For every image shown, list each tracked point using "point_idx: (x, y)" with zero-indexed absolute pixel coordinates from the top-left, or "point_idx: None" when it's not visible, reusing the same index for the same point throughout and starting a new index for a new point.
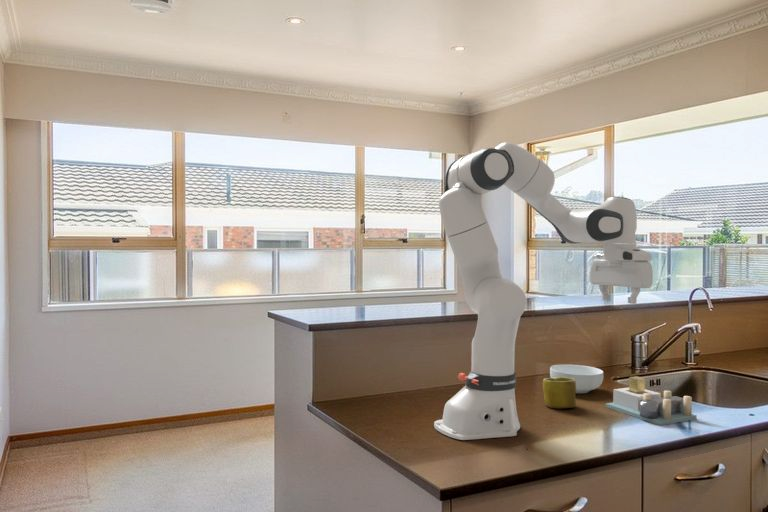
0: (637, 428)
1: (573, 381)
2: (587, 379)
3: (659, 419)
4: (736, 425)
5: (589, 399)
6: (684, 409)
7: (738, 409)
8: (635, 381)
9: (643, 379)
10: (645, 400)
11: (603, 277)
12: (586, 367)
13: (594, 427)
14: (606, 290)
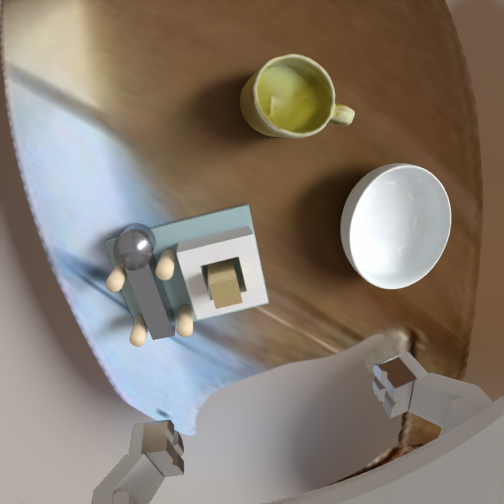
0: (93, 183)
1: (257, 113)
2: (345, 219)
3: None
4: (105, 362)
5: (310, 203)
6: (139, 319)
7: (191, 415)
8: (215, 280)
9: (214, 303)
10: (143, 250)
11: (487, 479)
12: (421, 273)
13: (114, 99)
14: (435, 419)
